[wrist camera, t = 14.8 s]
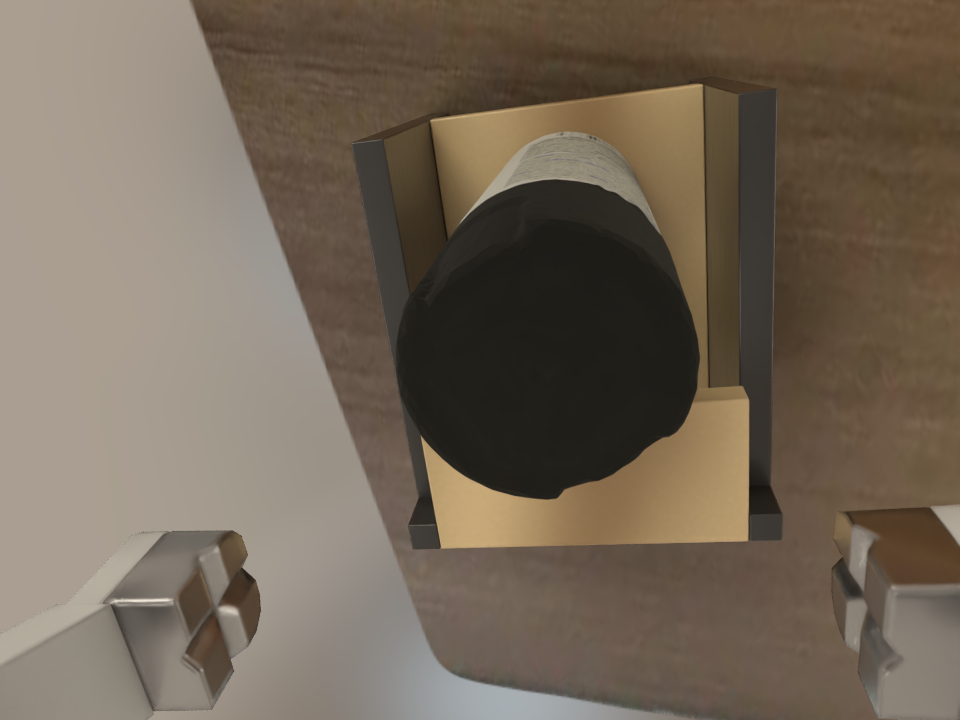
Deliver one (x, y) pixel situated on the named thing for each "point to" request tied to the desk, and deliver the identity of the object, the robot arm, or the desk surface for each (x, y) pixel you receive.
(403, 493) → the desk surface
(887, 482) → the desk surface
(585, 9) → the desk surface
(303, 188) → the desk surface
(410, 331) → the spray can
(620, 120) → the shelf
